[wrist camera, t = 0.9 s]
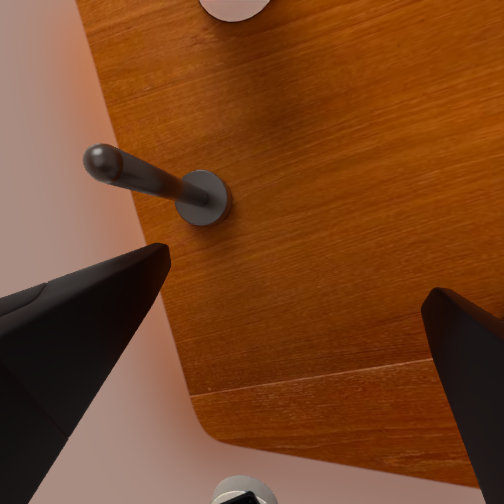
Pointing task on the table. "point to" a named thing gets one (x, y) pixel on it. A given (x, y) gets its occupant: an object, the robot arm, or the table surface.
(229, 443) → the table surface
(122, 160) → the joystick
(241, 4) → the cup
